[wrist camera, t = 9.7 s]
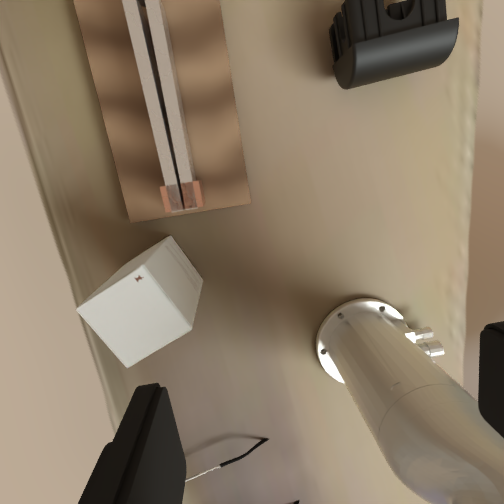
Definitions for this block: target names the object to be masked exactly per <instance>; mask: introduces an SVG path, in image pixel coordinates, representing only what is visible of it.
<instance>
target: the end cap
mask: <svg viewBox="0 0 504 504" xmlns="http://www.w3.org/2000/svg"><path fill="white" fill-rule="evenodd" d="M341 8H342V14H341V12H338V13H337V14H336V15H335V17H334V18H333V21H334V24H332V26H331V27H330V29H329V34H330V41H331V47H332V53H333V59H334V65H333V70H334V74H335V77H336V80H337V82H338V84H339V85H340V87H342V88H343V89H351V88H355V87H359V86H363V85H367V84H371V83H375V82H378V81H382V80H386V79H390V78H394V77H398V76H402V75H406V74H410V73H414V72H418V71H422V70H426V69H430V68H433V67H437V66H439V65H441V64H442V63H444V62H445V60H446V59H447V58H448V57H449V55H450V54H451V52H452V50H453V48H454V45H455V42H456V39H457V35H458V28H459V18H454V19H450V20H447V14H446V1H445V0H406V1H402V2H398V3H394V4H391V5H389V6H388V7H387V10H385V9H384V2H383V0H345V1H344V3H343V5H342V7H341ZM342 15H343V17H342Z"/></svg>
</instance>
